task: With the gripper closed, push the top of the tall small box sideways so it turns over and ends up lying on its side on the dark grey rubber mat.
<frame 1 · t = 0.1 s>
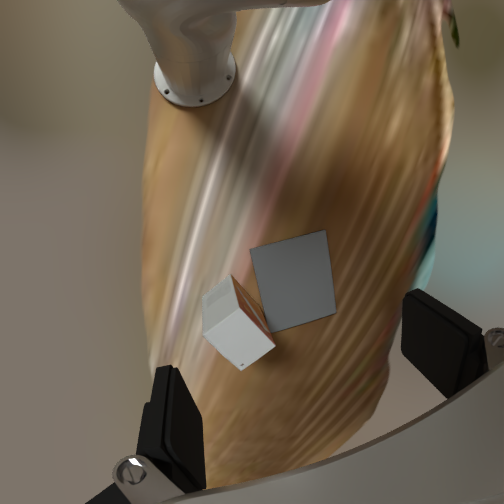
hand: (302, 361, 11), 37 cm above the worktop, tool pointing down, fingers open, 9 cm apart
mat: (296, 283, 50), on the worktop
small box: (231, 300, 50), on the worktop
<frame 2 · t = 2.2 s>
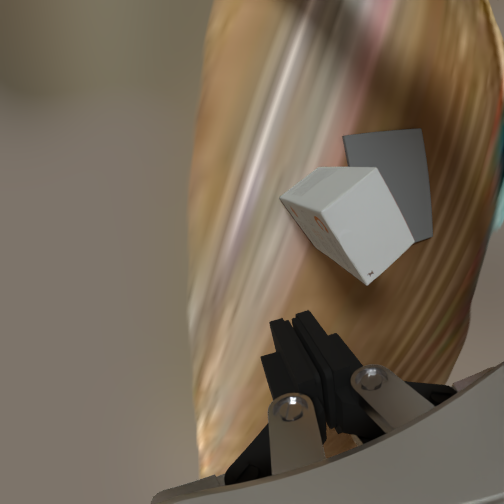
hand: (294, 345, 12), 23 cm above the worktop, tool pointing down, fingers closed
mat: (393, 190, 36), on the worktop
small box: (317, 207, 35), on the worktop
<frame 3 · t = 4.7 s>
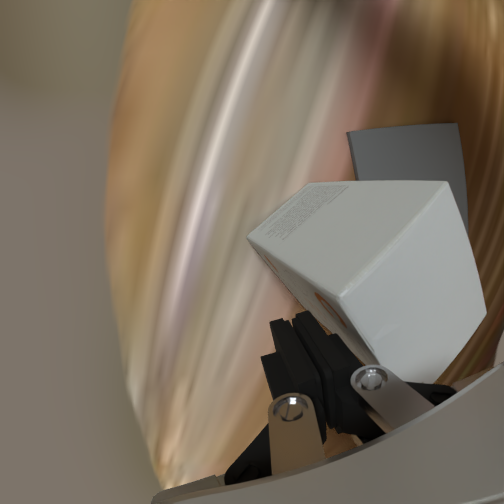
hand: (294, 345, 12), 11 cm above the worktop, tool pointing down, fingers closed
mat: (421, 214, 23), on the worktop
small box: (307, 247, 22), on the worktop
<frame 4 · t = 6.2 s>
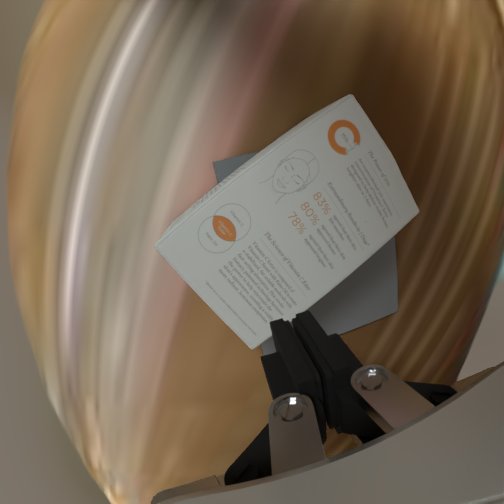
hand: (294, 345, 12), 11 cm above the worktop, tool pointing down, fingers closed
mat: (322, 247, 22), on the worktop
small box: (201, 285, 18), point 4 cm above the worktop, touching mat
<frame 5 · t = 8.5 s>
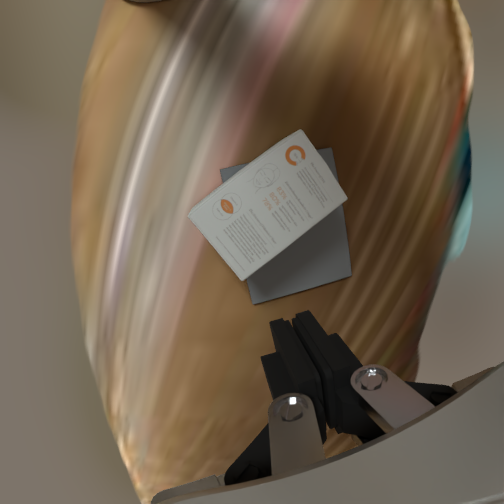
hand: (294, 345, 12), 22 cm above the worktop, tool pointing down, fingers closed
mat: (291, 225, 34), on the worktop
small box: (212, 244, 29), point 4 cm above the worktop, touching mat
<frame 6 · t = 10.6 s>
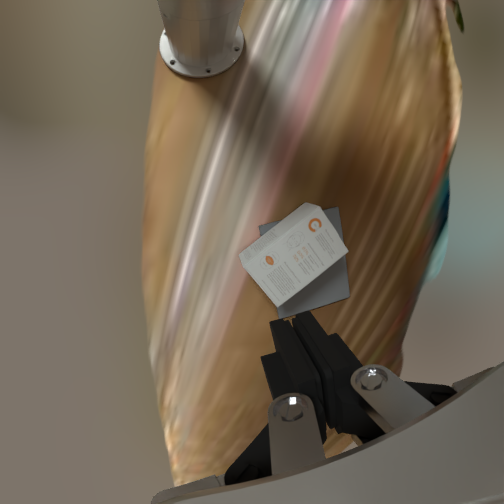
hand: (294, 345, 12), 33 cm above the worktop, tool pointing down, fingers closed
mat: (308, 263, 47), on the worktop
small box: (255, 281, 43), point 4 cm above the worktop, touching mat
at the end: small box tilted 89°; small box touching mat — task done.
